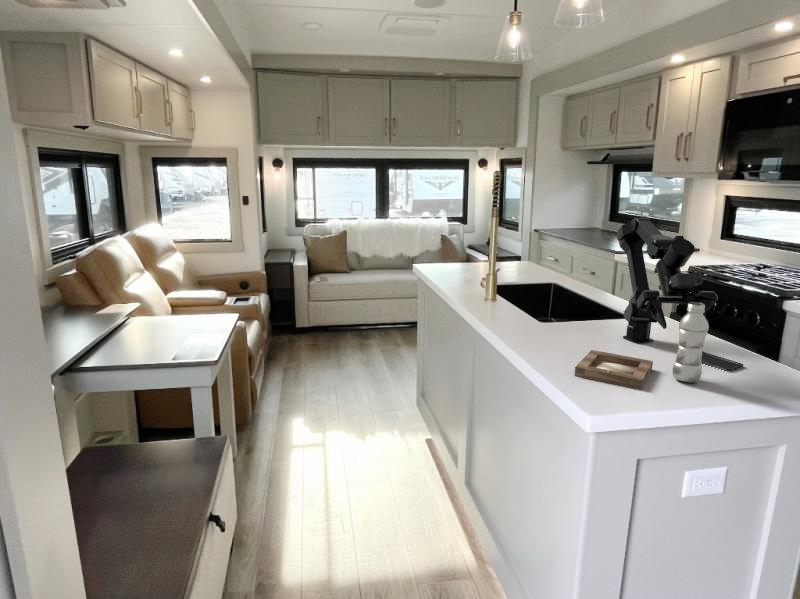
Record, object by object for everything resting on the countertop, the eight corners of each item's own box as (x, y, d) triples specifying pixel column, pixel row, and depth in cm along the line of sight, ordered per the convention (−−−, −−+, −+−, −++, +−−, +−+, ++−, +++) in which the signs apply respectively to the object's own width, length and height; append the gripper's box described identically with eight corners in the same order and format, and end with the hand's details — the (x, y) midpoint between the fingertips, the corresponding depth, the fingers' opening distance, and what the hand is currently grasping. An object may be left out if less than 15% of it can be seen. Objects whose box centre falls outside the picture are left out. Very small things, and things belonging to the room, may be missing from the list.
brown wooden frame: (590, 357, 153) (591, 349, 153) (652, 369, 145) (653, 360, 144) (574, 375, 140) (575, 366, 140) (640, 389, 132) (641, 379, 131)
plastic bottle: (665, 376, 140) (675, 301, 135) (690, 375, 141) (701, 300, 136) (680, 386, 134) (691, 307, 129) (706, 385, 134) (718, 307, 130)
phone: (693, 348, 159) (745, 364, 146) (692, 352, 159) (744, 368, 147) (675, 353, 155) (728, 369, 143) (675, 356, 156) (727, 373, 143)
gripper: (645, 260, 141) (657, 312, 133) (719, 260, 140) (736, 313, 131) (631, 283, 150) (642, 333, 142) (700, 284, 149) (715, 334, 141)
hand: (683, 328), depth 139 cm, fingers open, 9 cm apart
